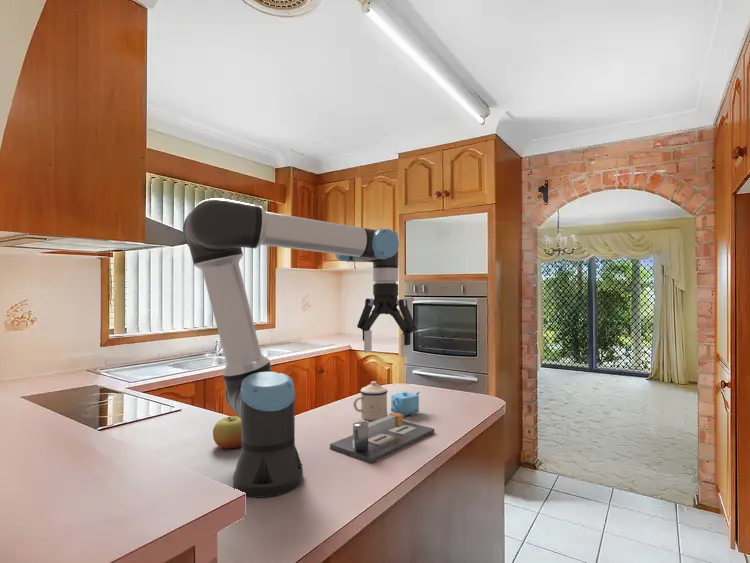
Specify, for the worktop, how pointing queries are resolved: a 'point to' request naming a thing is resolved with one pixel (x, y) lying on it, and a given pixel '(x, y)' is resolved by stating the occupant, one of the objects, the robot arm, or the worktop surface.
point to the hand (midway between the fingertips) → (385, 354)
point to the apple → (228, 432)
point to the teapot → (405, 403)
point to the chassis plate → (384, 442)
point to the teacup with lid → (372, 402)
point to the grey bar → (374, 429)
